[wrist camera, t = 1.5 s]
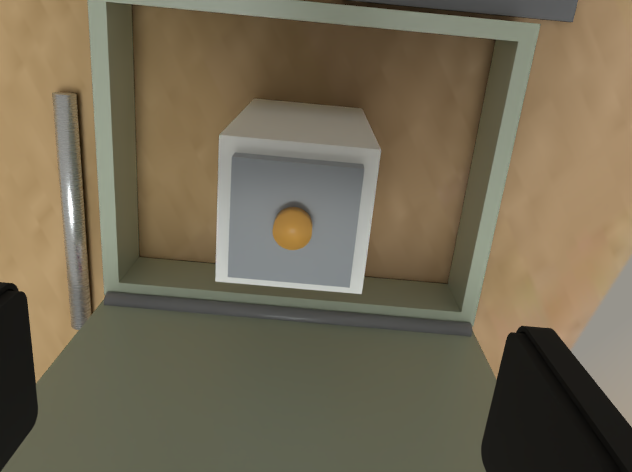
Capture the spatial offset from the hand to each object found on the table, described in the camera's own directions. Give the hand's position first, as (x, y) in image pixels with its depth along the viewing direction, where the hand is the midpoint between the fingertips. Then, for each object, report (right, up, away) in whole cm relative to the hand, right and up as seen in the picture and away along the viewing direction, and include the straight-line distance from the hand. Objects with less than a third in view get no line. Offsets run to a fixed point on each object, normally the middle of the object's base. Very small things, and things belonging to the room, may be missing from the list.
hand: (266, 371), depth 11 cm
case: (0, +6, +15) cm, 17 cm away
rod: (-11, +4, +17) cm, 20 cm away
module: (0, +6, +15) cm, 17 cm away
